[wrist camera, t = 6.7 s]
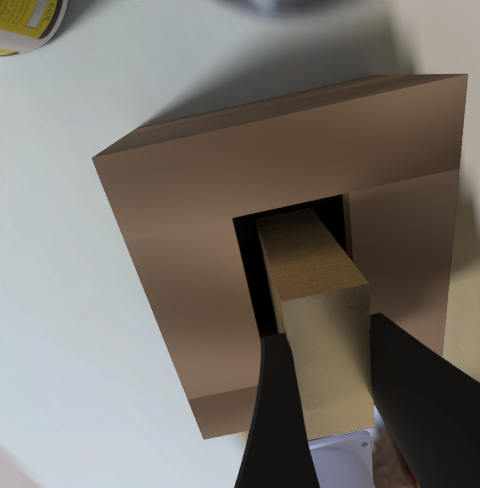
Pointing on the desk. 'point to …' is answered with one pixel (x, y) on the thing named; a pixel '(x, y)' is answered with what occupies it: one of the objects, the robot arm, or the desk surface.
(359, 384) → the block
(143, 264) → the walnut coin box
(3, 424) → the desk surface
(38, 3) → the supplement bottle
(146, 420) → the desk surface
